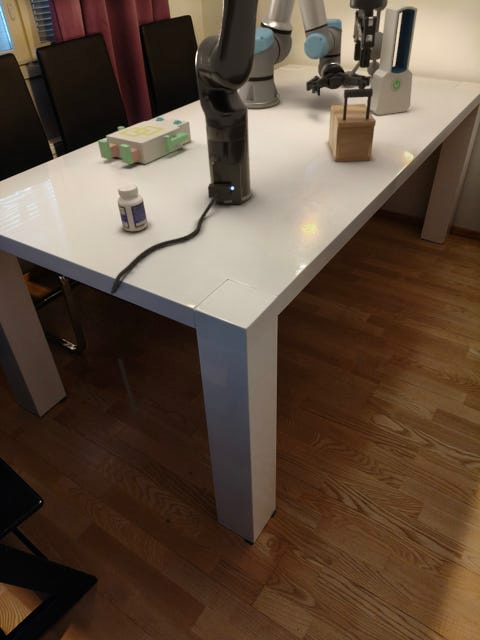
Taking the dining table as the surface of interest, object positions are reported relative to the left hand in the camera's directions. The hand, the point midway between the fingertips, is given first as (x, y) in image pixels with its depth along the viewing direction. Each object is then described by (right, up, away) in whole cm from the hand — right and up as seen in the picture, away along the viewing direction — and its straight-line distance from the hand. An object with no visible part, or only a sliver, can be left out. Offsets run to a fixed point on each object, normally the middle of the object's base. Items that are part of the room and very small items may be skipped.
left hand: (361, 63), depth 117 cm
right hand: (+2, +10, +34) cm, 36 cm away
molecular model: (+22, +33, +79) cm, 88 cm away
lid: (+1, -7, +13) cm, 15 cm away
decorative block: (-56, -12, +27) cm, 63 cm away
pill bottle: (-52, -42, -12) cm, 67 cm away
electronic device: (+21, +9, +48) cm, 53 cm away
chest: (+1, -14, +19) cm, 24 cm away
